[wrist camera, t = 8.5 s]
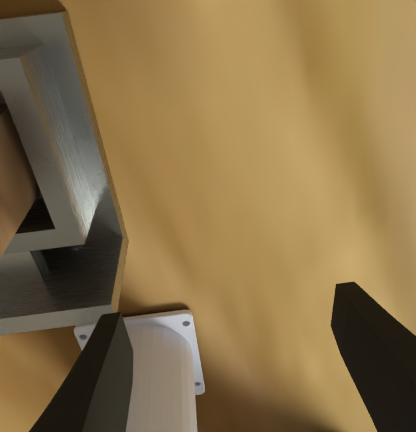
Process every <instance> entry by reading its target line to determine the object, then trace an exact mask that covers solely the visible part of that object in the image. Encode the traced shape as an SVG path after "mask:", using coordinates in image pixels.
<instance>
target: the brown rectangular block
mask: <svg viewBox="0 0 416 432" xmlns="http://www.w3.org/2000/svg"><path fill="white" fill-rule="evenodd" d="M39 193H40V188H39V186H38V183H37V180H36V178H35V175H34V173H33V170H32V168H31V165H30V163H29V160H28V157H27V155H26V152H25V150H24V147H23V145H22V142H21V139H20V137H19V134H18V132H17V129H16V127H15V124H14V122H13V119H12V116H11V114H10V111H9V109H8V106H7V104H6V103H3V104H0V258H1V257H2V255H3V253H4V252H5V250H6V248H7V246H8V245H9V243H10V241H11V240H12V238H13V236H14V235H15V233H16V231H17V230H18V228H19V226H20V225H21V223H22V221H23V220H24V218H25V216H26V215H27V213H28V211H29V210H30V208H31V206H32V205H33V203H34V201H35V200H36V198H37V196H38V195H39Z"/></svg>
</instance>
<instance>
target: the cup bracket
mask: <svg viewBox="0 0 416 432" xmlns="http://www.w3.org/2000/svg"><path fill="white" fill-rule="evenodd" d="M3 103H6V104H7V106H8V109H9V111H10V114H11V116H12V119H13V122H14V124H15V127H16V129H17V132H18V134H19V137H20V139H21V142H22V145H23V147H24V150H25V152H26V155H27V157H28V160H29V163H30V165H31V168H32V170H33V173H34V175H35V178H36V180H37V183H38V186H39V188H40V193H39V195H38V196H37V198H36V200H35V201H34V203H33V205H32V206H31V208H30V210H29V211H28V213H27V215H26V216H25V218H24V220H23V221H22V223H21V225H20V226H19V228H18V230H17V231H16V233H15V235H14V236H13V238H12V240H11V241H10V243H9V245H8V246H7V248H6V250H5V252H4V253H3V255H2V257H1V258H0V335H5V334H13V333H21V332H28V331H36V330H44V329H52V328H59V327H67V326H75V325H82V324H90V323H97V322H98V320H99V318H100V317H101V315H102V314H109V313H116V312H117V311H118V305H119V299H120V292H121V286H122V280H123V273H124V267H125V261H126V254H127V248H128V242H129V241H128V237H127V233H126V230H125V226H124V222H123V218H122V215H121V211H120V207H119V203H118V200H117V196H116V192H115V188H114V184H113V181H112V177H111V173H110V169H109V166H108V162H107V158H106V154H105V151H104V147H103V143H102V139H101V136H100V132H99V128H98V124H97V120H96V117H95V113H94V109H93V105H92V102H91V98H90V94H89V90H88V87H87V83H86V79H85V75H84V72H83V68H82V64H81V60H80V56H79V53H78V49H77V45H76V41H75V38H74V34H73V30H72V26H71V23H70V19H69V15H68V11H59V12H51V13H42V14H33V15H25V16H16V17H7V18H0V104H3Z"/></svg>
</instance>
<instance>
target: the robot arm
mask: <svg viewBox="0 0 416 432" xmlns="http://www.w3.org/2000/svg"><path fill="white" fill-rule="evenodd" d="M184 321H188V322H184ZM331 328H332V331H333V334H334V337H335V340H336V342H337V345H338V348H339V351H340V354H341V356H342V358H343V360H344V362H345V364H346V367H347V369H348V371H349V373H350V375H351V377H352V379H353V381H354V383H355V385H356V387H357V389H358V391H359V393H360V396H361V398H362V400H363V402H364V404H365V406H366V408H367V410H368V412H369V414H370V416H371V418H372V420H373V423H374V425H375V427H376V429H377V432H416V336H415V335H414V334H413V333H411V332H410V331H409V330H408V329H407V328H405V327H404V326H403V325H402V324H401V323H400V322H398V321H397V320H396V319H395V318H394V317H393V316H391V315H390V314H389V313H388V312H387V311H386V310H385V309H384V308H382V307H381V306H380V305H379V304H378V303H377V302H376V301H375V300H374V299H373V298H372V297H370V296H369V295H368V294H367V293H366V292H365V291H364V290H363V289H362V288H361V287H360V286H359V285H357V284H356V283H355V282H348V283H340V284H336V288H335V296H334V304H333V312H332V320H331ZM74 334H75V336H76V339H77V341H78V343H79V346H80V348H81V350H82V352H81V354H80V356H79V357H78V359H77V361H76V362H75V364H74V366H73V367H72V369H71V371H70V372H69V374H68V376H67V377H66V379H65V381H64V382H63V384H62V385H61V387H60V388H59V390H58V391H57V393H56V394H55V396H54V397H53V399H52V400H51V402H50V403H49V405H48V406H47V408H46V409H45V410H44V412H43V413H42V415H41V416H40V417H39V419H38V420H37V422H36V423H35V424H34V426H33V427H32V428H31V430H30V431H29V432H197V416H196V399H195V395H201V394H203V393H204V392H205V385H204V379H203V373H202V367H201V361H200V356H199V350H198V344H197V338H196V332H195V326H194V320H193V315H192V312H191V311H190V310H178V311H170V312H162V313H154V314H147V315H139V316H131V317H124V318H123V317H122V314H121V312H116V313H109V314H102V315H101V317H100V318H99V320H98V322H97V323H90V324H82V325H75V327H74Z"/></svg>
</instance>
